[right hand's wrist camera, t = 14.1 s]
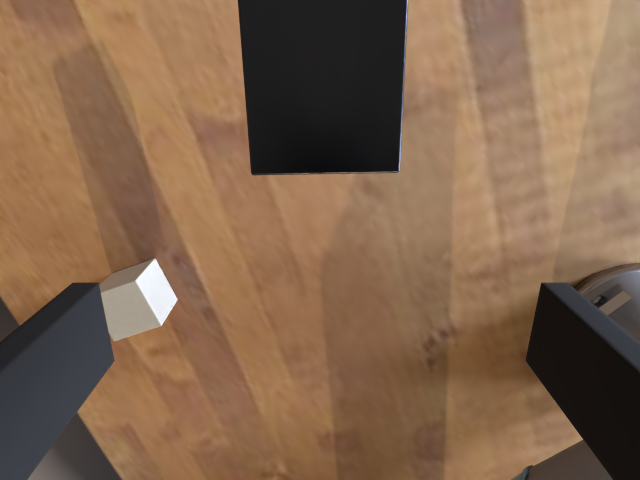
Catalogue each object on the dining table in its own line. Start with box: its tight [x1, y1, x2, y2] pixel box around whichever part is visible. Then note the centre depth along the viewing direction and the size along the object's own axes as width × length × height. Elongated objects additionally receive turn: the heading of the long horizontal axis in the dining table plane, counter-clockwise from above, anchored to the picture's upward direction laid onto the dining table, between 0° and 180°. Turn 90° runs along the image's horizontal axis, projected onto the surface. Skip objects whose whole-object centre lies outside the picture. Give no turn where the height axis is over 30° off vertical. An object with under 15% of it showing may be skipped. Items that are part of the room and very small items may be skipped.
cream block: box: [99, 259, 178, 341], centre depth 41 cm, size 5×5×5 cm
